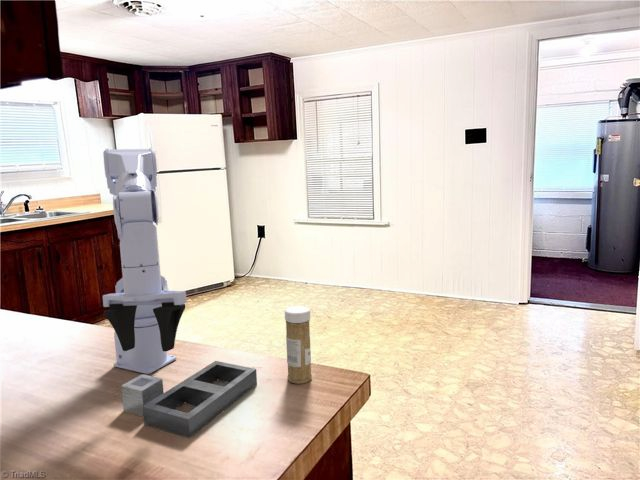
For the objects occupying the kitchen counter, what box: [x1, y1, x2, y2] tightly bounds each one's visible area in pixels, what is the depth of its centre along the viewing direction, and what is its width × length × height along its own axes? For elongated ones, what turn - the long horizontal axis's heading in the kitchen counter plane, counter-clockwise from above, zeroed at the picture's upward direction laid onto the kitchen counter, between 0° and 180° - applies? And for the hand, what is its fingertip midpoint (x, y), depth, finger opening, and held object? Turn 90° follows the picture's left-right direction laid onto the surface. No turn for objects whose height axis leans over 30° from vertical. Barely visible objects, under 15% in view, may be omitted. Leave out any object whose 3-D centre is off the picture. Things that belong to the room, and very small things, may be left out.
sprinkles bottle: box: [284, 305, 313, 385], centre depth 87 cm, size 5×5×14 cm
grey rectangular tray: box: [142, 360, 258, 439], centre depth 79 cm, size 9×18×3 cm, turn 155°
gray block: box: [120, 373, 165, 417], centre depth 79 cm, size 4×4×5 cm
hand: (148, 349), depth 77 cm, fingers open, 7 cm apart
